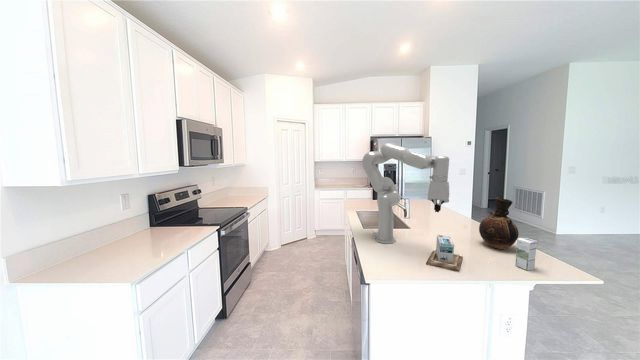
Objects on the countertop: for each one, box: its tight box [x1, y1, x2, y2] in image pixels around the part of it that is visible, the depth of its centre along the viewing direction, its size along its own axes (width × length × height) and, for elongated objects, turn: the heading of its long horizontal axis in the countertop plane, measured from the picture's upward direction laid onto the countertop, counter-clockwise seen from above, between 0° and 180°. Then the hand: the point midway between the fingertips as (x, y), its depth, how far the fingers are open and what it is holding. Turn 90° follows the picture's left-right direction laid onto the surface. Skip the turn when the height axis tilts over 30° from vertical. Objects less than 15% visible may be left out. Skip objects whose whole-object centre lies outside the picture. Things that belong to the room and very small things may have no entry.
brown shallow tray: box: [425, 249, 464, 273], centre depth 131 cm, size 15×18×2 cm
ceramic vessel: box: [478, 197, 519, 250], centre depth 148 cm, size 21×18×30 cm
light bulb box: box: [435, 234, 455, 264], centre depth 130 cm, size 11×7×11 cm, turn 164°
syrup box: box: [514, 237, 538, 272], centre depth 122 cm, size 6×6×14 cm
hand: (437, 211), depth 137 cm, fingers closed
